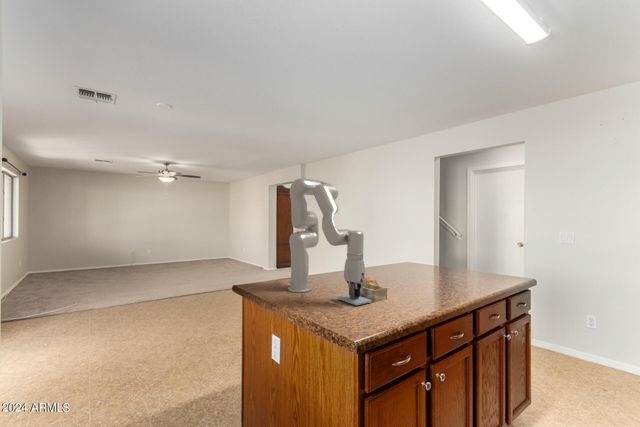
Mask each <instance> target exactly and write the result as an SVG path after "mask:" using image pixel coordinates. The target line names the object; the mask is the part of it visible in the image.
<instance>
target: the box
mask: <svg viewBox="0 0 640 427" xmlns="http://www.w3.org/2000/svg"><path fill="white" fill-rule="evenodd" d="M378 285H379V284H378ZM378 285H374V284H370V283H368V284H365V285H363V286H362V287H361V289H360V296H361V297H364V298H367V299H370V300H372V302H371V303H379V302H382V301H385V300H388V287H384V286H381V285H379V286H378Z"/></svg>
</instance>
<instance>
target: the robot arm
mask: <svg viewBox="0 0 640 427" xmlns="http://www.w3.org/2000/svg"><path fill="white" fill-rule="evenodd" d="M306 195H307V196H313V197H314V199H315V201H316V203H317V205H318V207H319V210H320V211H321V215H322V218H321V229H322V230H321V231H322V232H323V234H324V237H325V239H326V241H327V242H328V243H329V245H331V246H333V247H337V246H346V248H347V249H346V251H347V252H346V259H345V262H344V268H343V270H344V272H343V279H344V281H345V282H346V283H347V284H348V285H347V286H348V289H349V290H348V291H349V292H348V295H349V296H350V283H355V289H354V297H355V298H357V297H360V289H361V287H362V286H363V285H365V278H366V268H365V261H364V240H365V239H364V232H363V231H361V230H351V229H337V228H336V225H335V222H334V215H336V214H337V213H338V212H339V206H338V204H337V203H336V200H337V198H338V197H339V191H338V188H337V187H336V186H335V185H334V184H331V183H328V182H324V181H321V180H319V179H312V178H297V179H295V180H294V181H292V183H291V185H290V188H289V196H290V205H291V207H290V208H291V209H290V210H291V225H292V227H293V228H294V229H298V230H299V231H295V232H292V233H291V235H290V236H289V240H288V241H289V248H290V280H289V281H288V284H289V286H288V287H287V291H289V292H291V293H306V292H307V293H308V292H310V291H311V290H312V286H310V285H309V254H308V251H307V249H310V248H314V247H316V246H317V245H318V244H319V239H320V237H319V236H320V235H319V234H320V233H319V218H318V216H317V214H316V213H315V212H313V211H309V210H308V203H307V202H308V201H307V200H306V198H305V196H306ZM300 229H302V230H300ZM303 229H304V230H303Z"/></svg>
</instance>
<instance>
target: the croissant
mask: <svg viewBox="0 0 640 427" xmlns="http://www.w3.org/2000/svg"><path fill="white" fill-rule="evenodd" d="M368 283H370V284H374V285H378V286H380V285H379V283H378V282H377V280H376V279H374V278H372V277H369V276H368V277H365V284H368Z"/></svg>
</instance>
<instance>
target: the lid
mask: <svg viewBox="0 0 640 427" xmlns="http://www.w3.org/2000/svg"><path fill="white" fill-rule="evenodd" d="M354 289H355V283H350V296H349V294H346V295H342V296H341V295H340V296H337V298H336V299H337V300H341V301H343V302H345V303H348V304H351V305H352V306H359V305H364V304H365V305H366V304H368V303H373V302H372V300H370V299H367V298H364V297H361V296H360V297H357V298H355V297H354Z"/></svg>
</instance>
